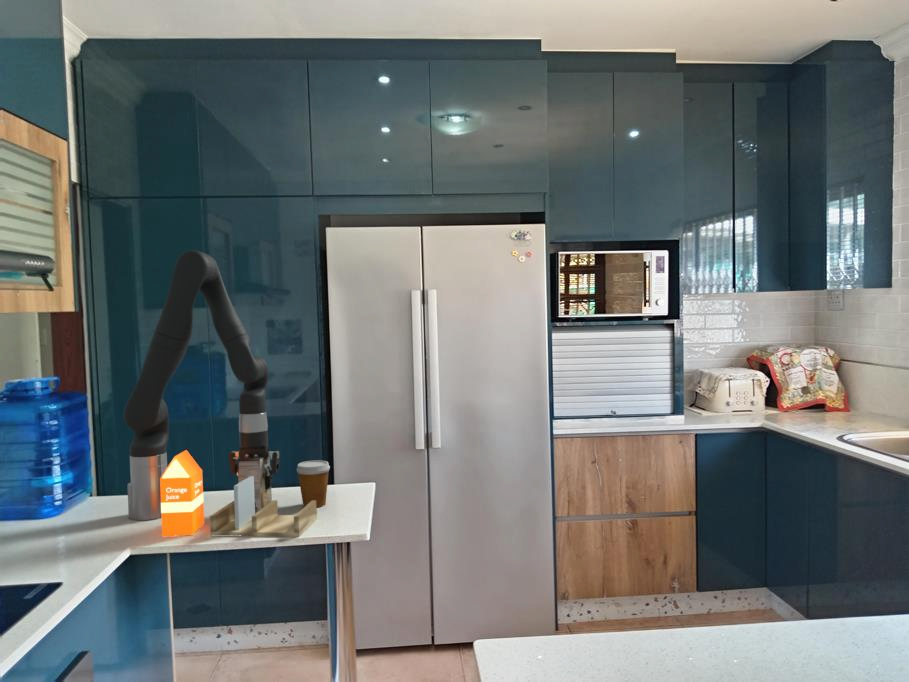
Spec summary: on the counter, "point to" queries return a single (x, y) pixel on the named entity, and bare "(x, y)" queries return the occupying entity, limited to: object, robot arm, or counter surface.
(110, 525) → the counter surface
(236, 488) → the pale grey flat panel
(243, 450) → the robot arm
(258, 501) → the coffee box
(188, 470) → the orange juice
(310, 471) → the disposable coffee cup
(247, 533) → the rack
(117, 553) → the counter surface
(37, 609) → the counter surface
